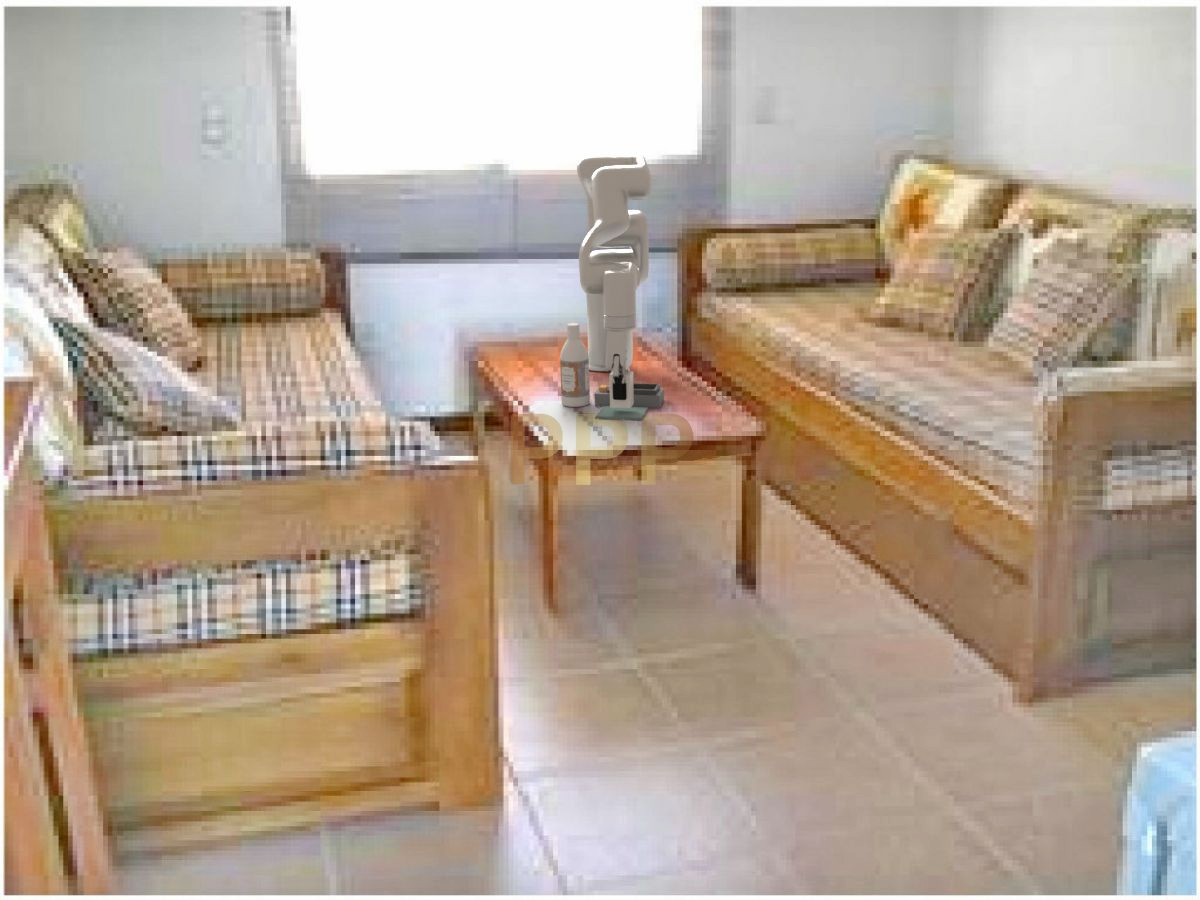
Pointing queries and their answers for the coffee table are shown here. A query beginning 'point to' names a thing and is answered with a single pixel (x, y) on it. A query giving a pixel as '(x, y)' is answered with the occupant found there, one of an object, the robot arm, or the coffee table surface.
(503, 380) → the coffee table surface
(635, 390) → the power strip
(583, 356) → the bath foam
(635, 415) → the mat
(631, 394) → the block
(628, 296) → the robot arm
